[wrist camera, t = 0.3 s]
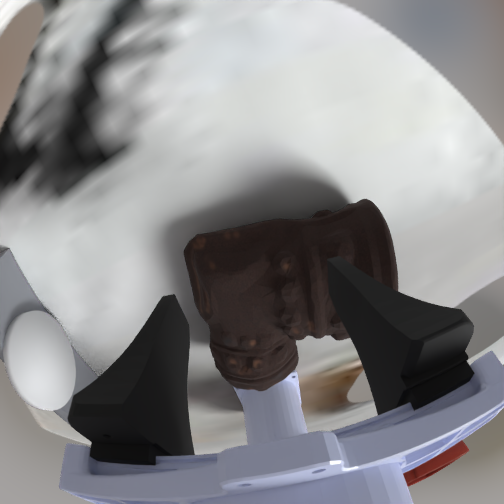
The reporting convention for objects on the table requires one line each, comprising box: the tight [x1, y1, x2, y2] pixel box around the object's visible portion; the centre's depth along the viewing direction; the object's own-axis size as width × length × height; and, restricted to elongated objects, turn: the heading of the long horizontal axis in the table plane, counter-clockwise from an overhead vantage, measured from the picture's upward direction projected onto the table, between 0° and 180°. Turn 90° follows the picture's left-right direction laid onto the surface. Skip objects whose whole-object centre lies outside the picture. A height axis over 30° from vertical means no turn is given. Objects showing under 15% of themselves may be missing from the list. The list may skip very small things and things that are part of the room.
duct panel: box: [0, 249, 98, 424], centre depth 21 cm, size 20×3×10 cm, turn 11°
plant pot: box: [403, 440, 469, 486], centre depth 49 cm, size 19×19×17 cm
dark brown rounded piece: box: [184, 199, 398, 391], centre depth 23 cm, size 10×15×15 cm
